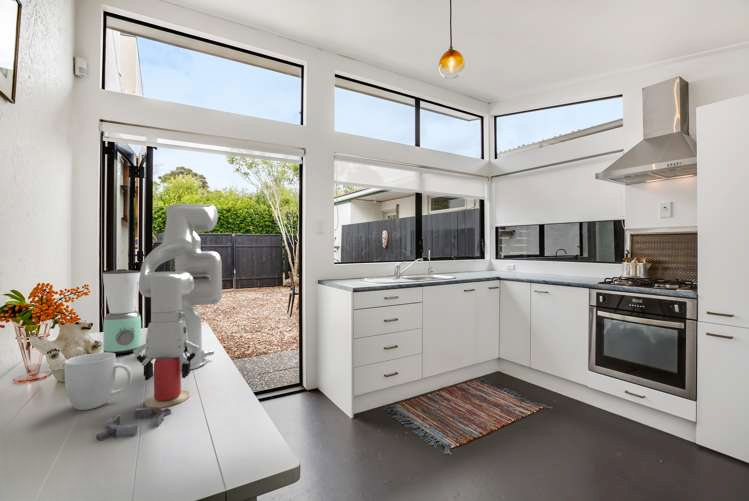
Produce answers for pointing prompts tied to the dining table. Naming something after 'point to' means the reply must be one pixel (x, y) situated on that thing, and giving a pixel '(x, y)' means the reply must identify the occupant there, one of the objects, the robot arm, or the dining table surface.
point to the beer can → (167, 378)
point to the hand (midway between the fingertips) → (167, 377)
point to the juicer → (121, 312)
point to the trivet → (161, 404)
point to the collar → (131, 430)
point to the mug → (92, 379)
